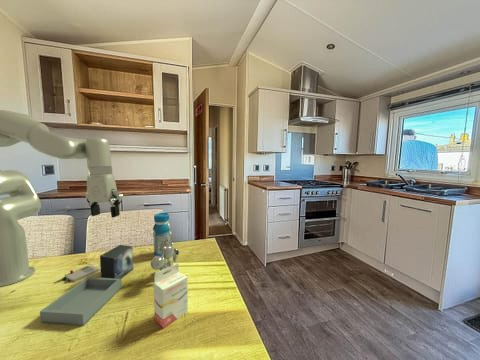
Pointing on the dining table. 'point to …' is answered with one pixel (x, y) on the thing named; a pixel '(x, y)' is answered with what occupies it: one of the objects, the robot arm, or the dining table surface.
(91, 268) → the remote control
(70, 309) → the tray
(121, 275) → the small box
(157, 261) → the robot toy
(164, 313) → the ink cartridge box
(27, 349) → the dining table surface
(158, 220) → the beverage bottle
